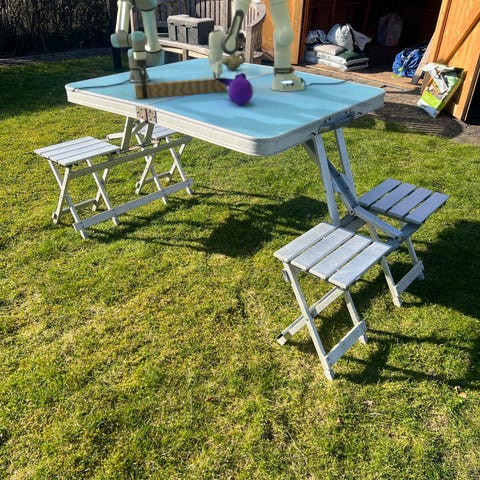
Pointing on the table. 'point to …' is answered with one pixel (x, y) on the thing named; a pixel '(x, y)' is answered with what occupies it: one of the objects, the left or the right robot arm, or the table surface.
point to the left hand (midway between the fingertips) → (144, 96)
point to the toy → (238, 89)
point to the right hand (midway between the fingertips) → (216, 79)
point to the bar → (180, 88)
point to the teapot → (233, 61)
